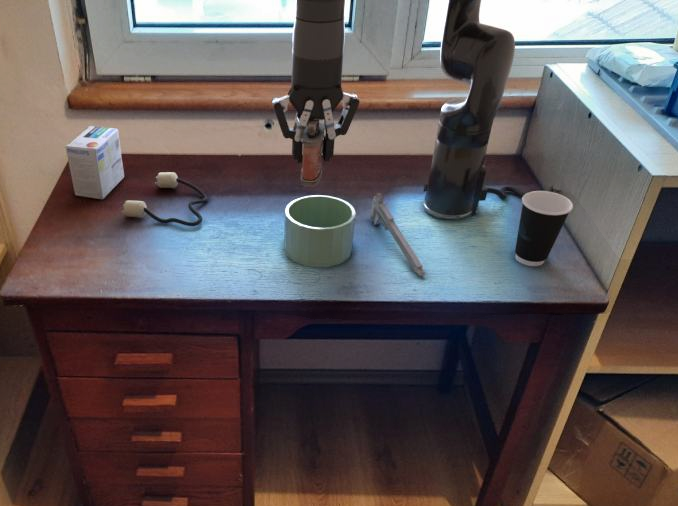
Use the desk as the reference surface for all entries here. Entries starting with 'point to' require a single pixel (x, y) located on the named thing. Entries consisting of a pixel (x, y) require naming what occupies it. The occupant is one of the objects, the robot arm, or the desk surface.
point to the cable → (164, 182)
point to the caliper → (394, 231)
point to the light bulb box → (95, 162)
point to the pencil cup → (319, 230)
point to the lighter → (312, 152)
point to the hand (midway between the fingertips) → (312, 159)
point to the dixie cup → (540, 225)
